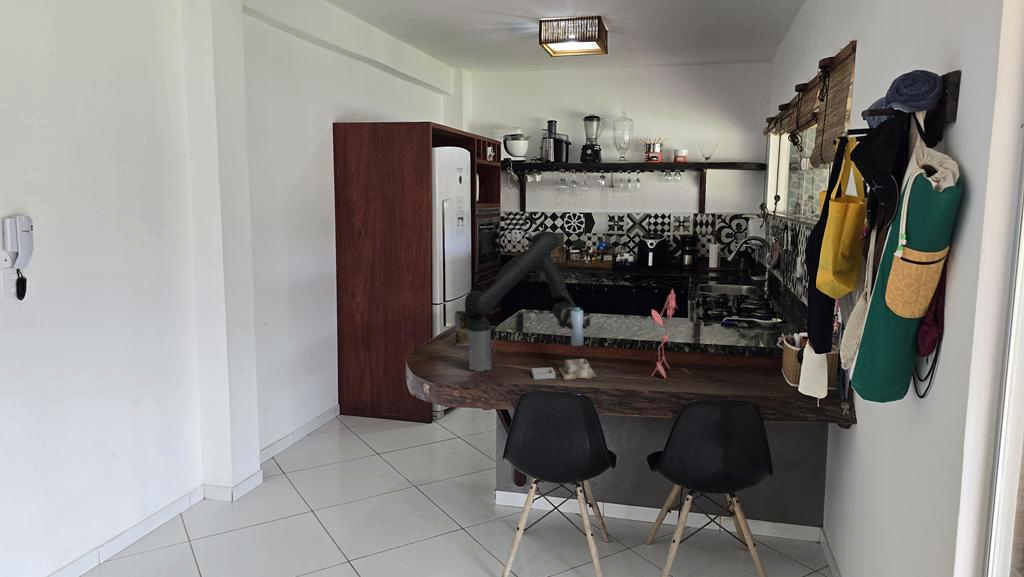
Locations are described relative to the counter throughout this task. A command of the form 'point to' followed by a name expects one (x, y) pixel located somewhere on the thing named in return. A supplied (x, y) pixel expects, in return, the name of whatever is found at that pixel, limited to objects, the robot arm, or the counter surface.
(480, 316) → the robot arm
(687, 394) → the counter surface
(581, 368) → the port
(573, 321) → the light blue bottle
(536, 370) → the white square tray
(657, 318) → the pink branching plant
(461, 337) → the coffee box
